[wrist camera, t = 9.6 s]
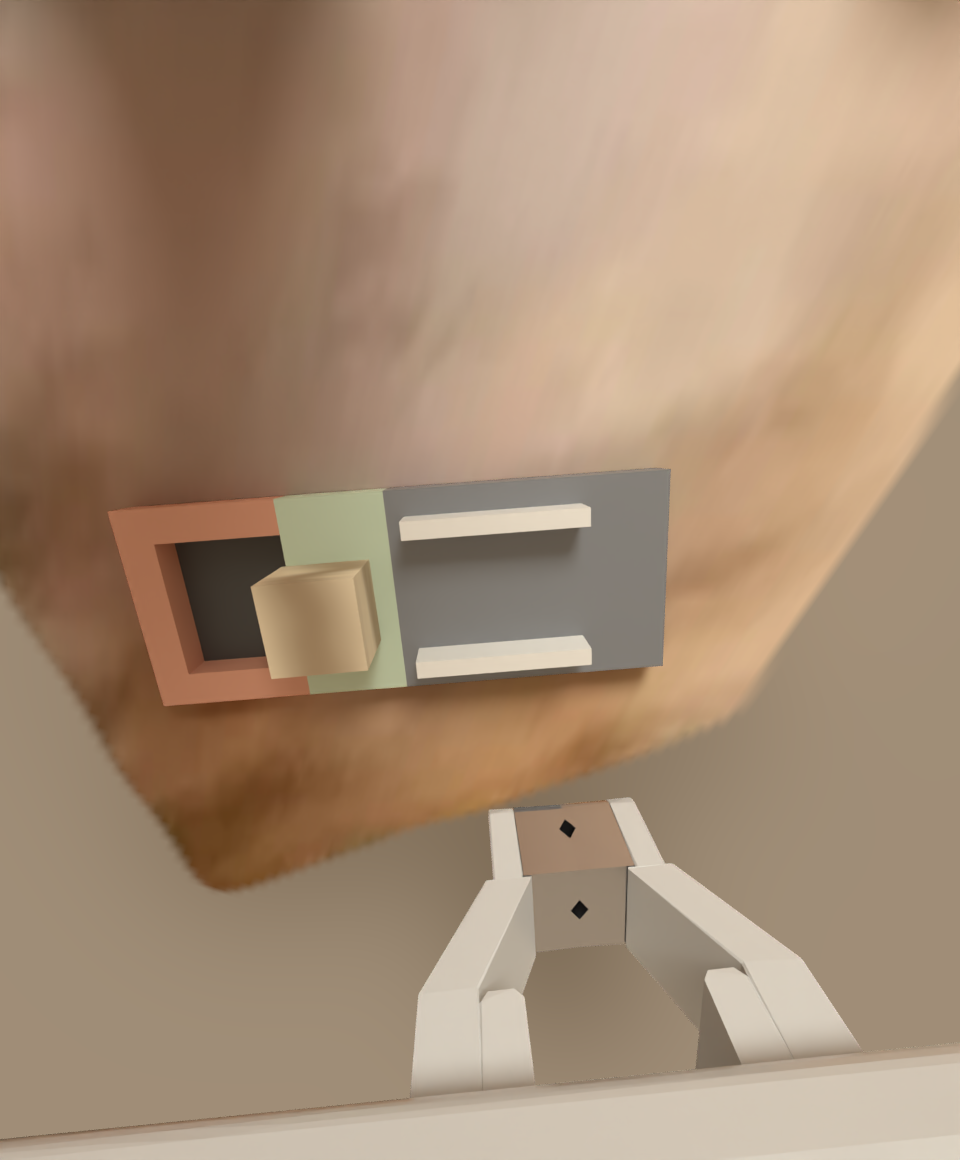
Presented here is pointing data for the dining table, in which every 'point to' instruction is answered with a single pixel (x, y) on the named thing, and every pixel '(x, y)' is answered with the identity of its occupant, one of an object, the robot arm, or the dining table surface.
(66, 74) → the dining table surface
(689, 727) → the dining table surface
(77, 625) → the dining table surface
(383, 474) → the dining table surface
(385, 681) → the pad
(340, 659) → the birch block
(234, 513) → the board
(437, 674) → the channel walls
